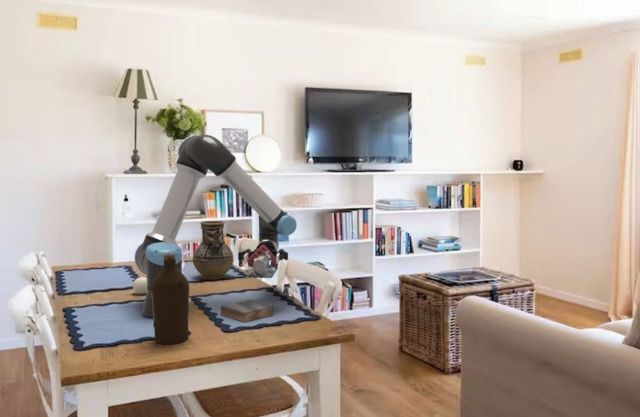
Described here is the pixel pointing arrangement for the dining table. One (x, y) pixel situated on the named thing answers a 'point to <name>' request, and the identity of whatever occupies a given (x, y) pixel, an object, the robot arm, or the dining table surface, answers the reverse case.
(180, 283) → the olive oil
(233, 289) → the dining table surface
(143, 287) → the baseball
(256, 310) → the stand
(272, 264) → the brake caliper
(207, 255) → the decorative pitcher
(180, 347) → the dining table surface
